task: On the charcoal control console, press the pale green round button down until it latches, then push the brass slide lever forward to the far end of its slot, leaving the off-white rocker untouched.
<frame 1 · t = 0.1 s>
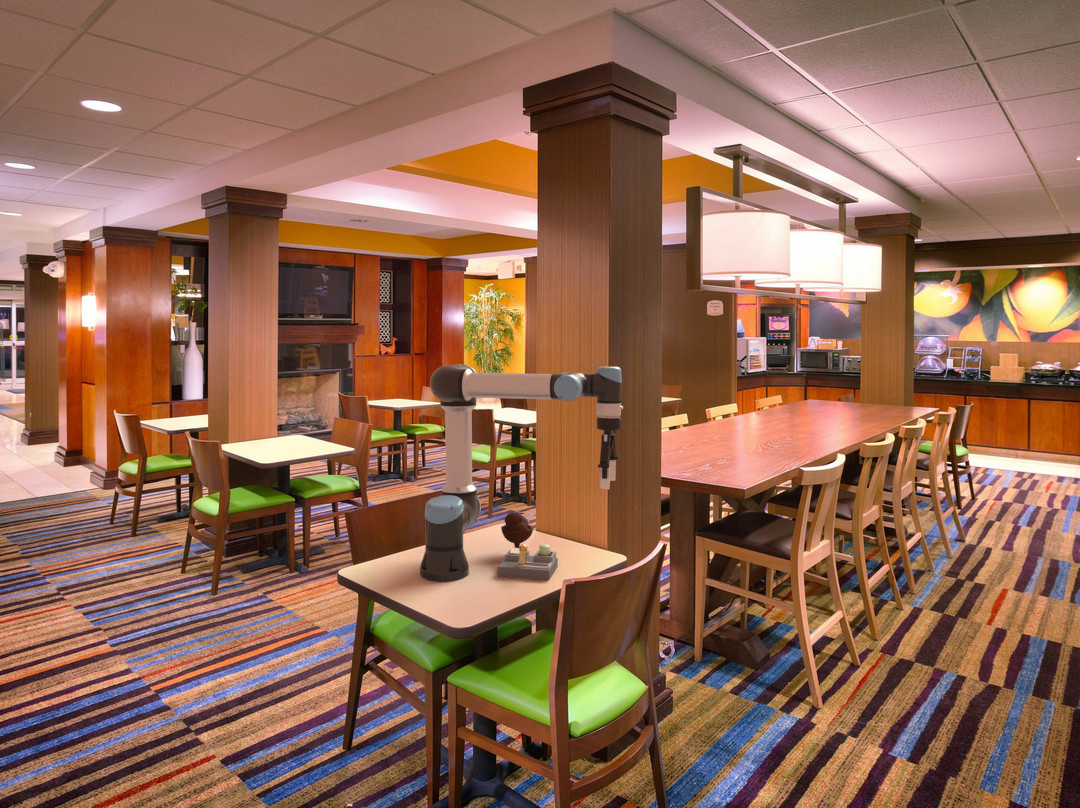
hand: (608, 484, 215), 28 cm above the table, fingers open, 13 cm apart
console: (528, 571, 217), on the table
rocker: (517, 552, 221), point 5 cm above the table, hinge at 14.0°
green button: (545, 550, 219), point 6 cm above the table, slide at 0.0 cm
brass lever: (523, 554, 214), point 6 cm above the table, slide at 0.0 cm
ice cream bowl: (517, 555, 235), on the table
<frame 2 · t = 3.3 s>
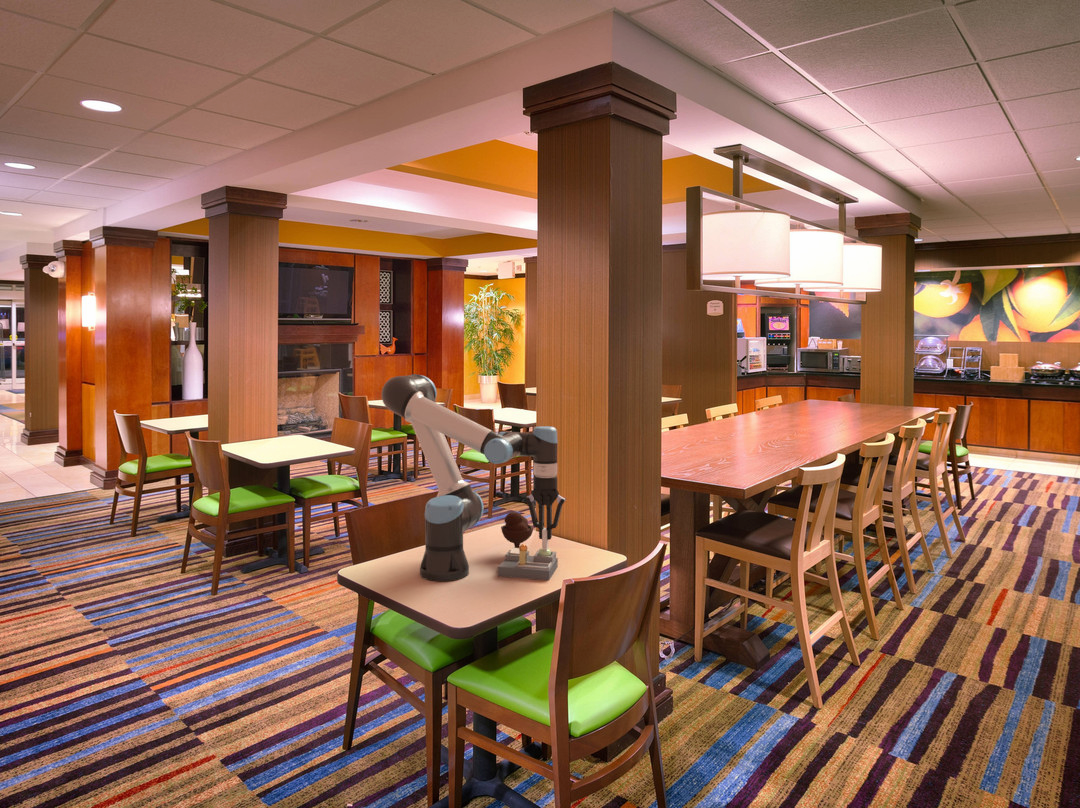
hand: (545, 549, 219), 7 cm above the table, fingers closed
green button: (544, 554, 219), point 5 cm above the table, slide at -1.3 cm, touching gripper
everything else where it was.
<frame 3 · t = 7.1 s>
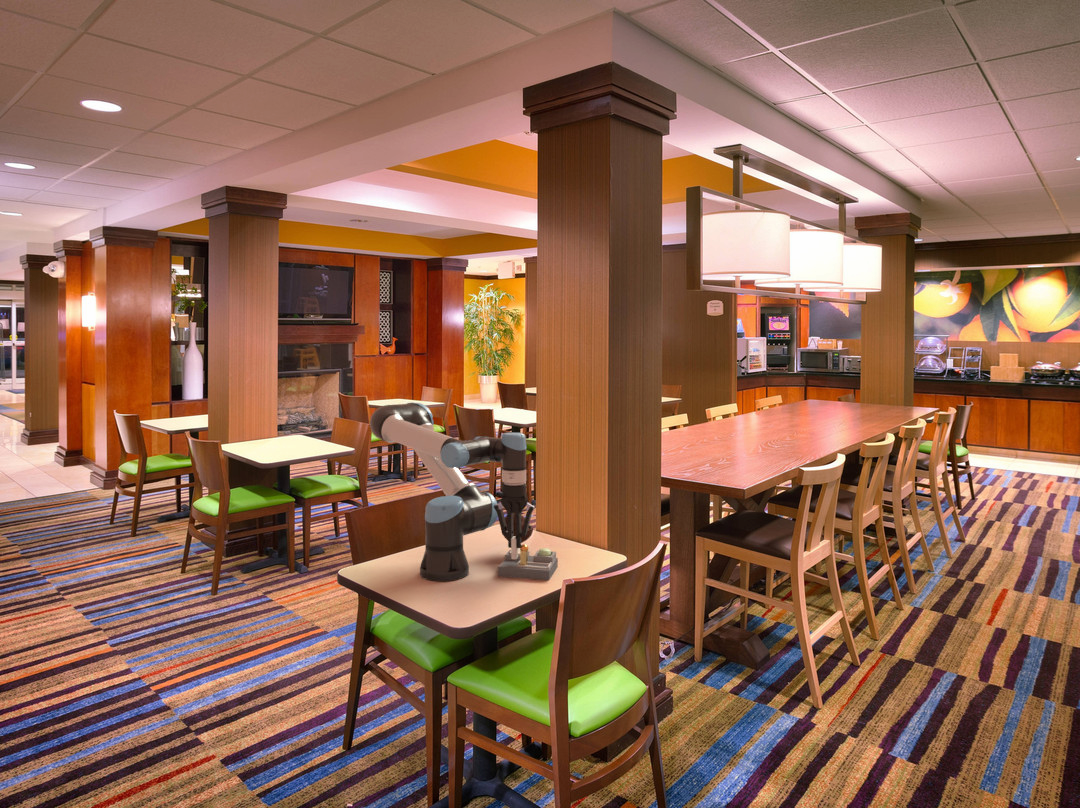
hand: (514, 557, 215), 5 cm above the table, fingers closed
green button: (544, 554, 219), point 5 cm above the table, slide at -1.4 cm
brass lever: (524, 554, 214), point 6 cm above the table, slide at 0.3 cm, touching gripper
everything else where it was.
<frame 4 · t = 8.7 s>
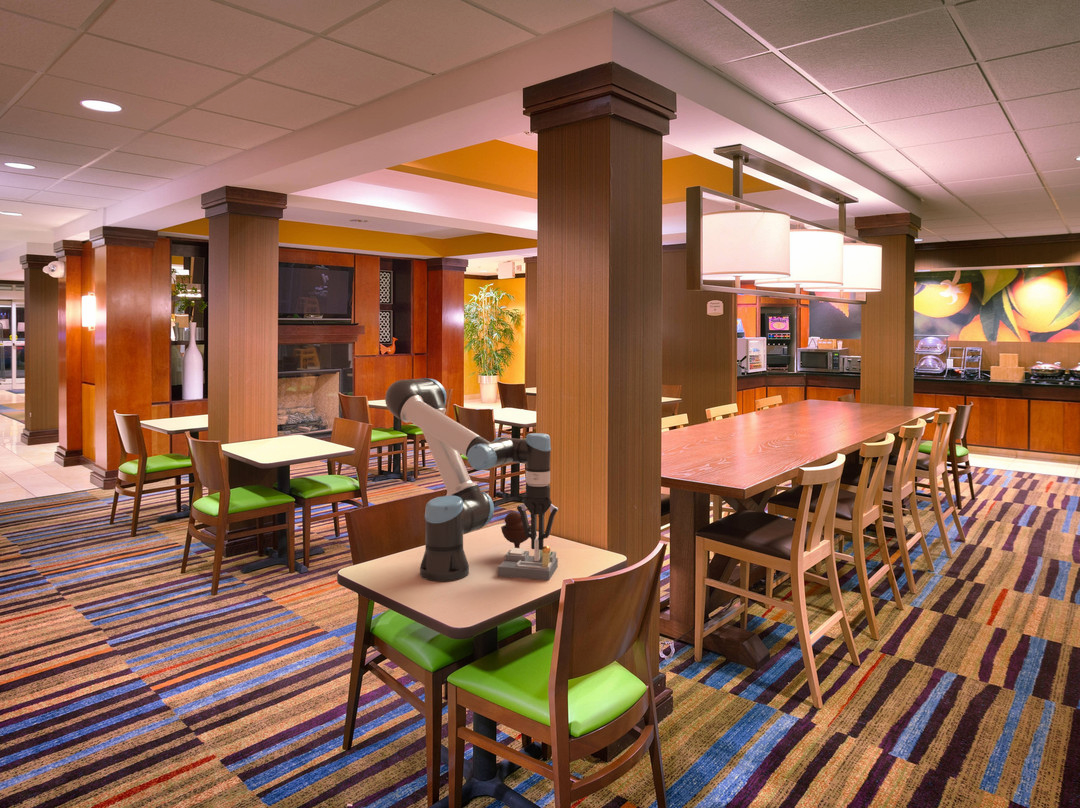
hand: (537, 559, 213), 5 cm above the table, fingers closed
brass lever: (546, 555, 213), point 6 cm above the table, slide at 7.3 cm, touching console, gripper
everything else where it was.
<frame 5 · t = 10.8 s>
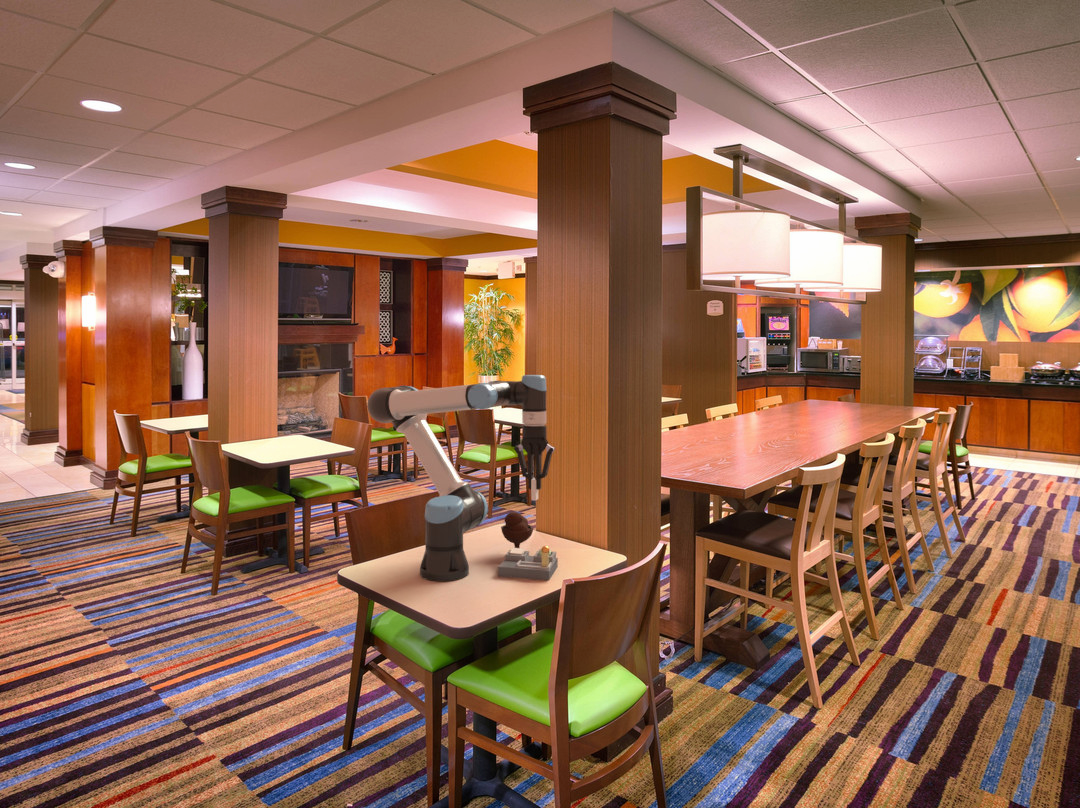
hand: (534, 499, 216), 23 cm above the table, fingers closed
brass lever: (545, 555, 213), point 6 cm above the table, slide at 7.0 cm
everything else where it was.
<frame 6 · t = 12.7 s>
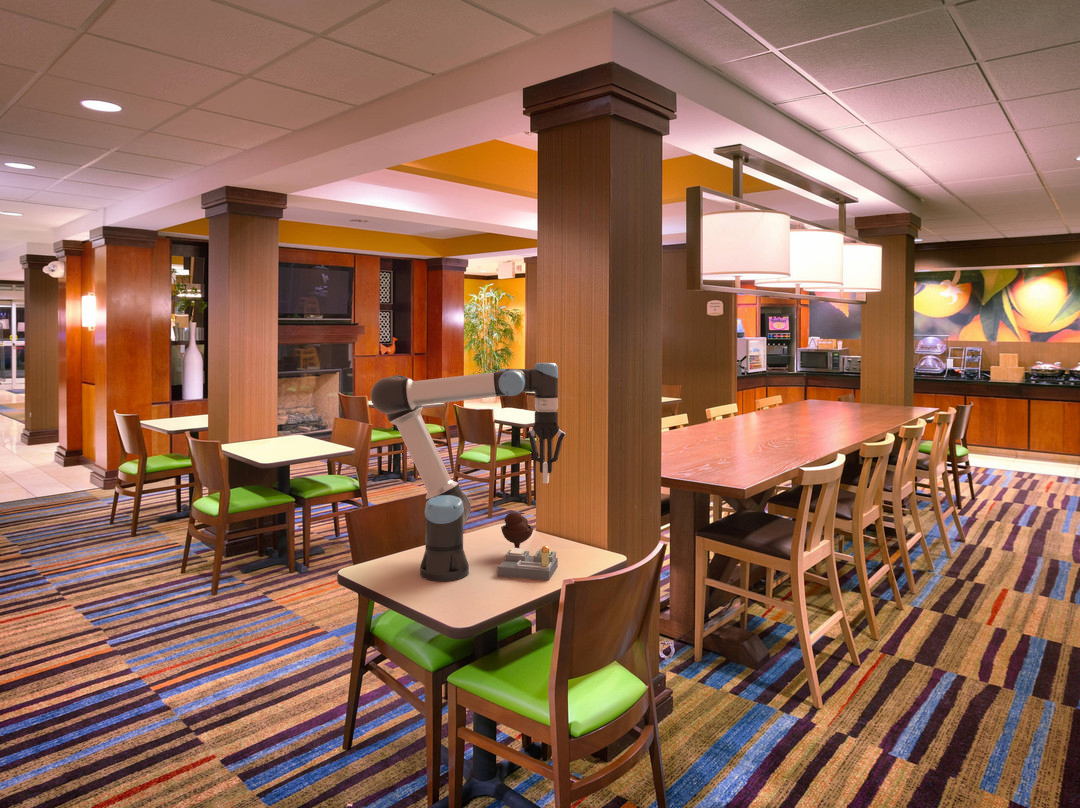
hand: (545, 482, 225), 26 cm above the table, fingers closed
nothing on the table moved.
at the end: green button slide at -1.4 cm; brass lever slide at 7.0 cm; rocker at +14° (first picture: +14°) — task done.
